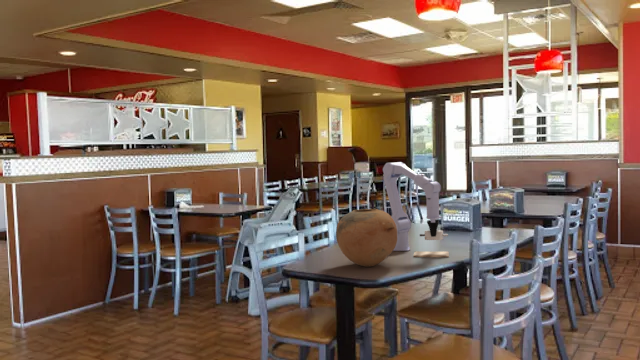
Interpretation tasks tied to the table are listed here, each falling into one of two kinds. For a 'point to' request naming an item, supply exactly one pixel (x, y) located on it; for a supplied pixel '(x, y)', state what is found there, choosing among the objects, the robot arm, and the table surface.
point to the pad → (430, 254)
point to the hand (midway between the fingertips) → (433, 235)
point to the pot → (366, 236)
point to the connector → (438, 237)
